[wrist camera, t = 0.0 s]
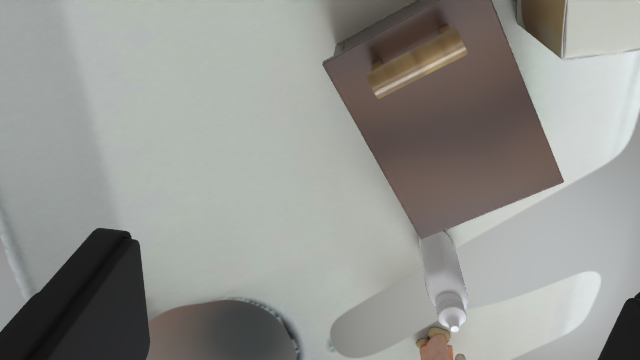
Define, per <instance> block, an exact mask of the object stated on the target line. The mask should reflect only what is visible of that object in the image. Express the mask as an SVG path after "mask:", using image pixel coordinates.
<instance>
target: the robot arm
mask: <svg viewBox="0 0 640 360" xmlns="http://www.w3.org/2000/svg"><path fill="white" fill-rule="evenodd" d="M149 346H150V337H149V327H148V318H147V308H146V299H145V290H144V280H143V271H142V262H141V252H140V245H139V242H138V241H137V240H134V239H132V238H131V235H130V233H129V232H127V231H122V230H113V229H104V228H97V229H96V230H94V231H93V232H92V233H91V234H90V236H89V237H88V238H87V239H86V240H85V241H84V242H83V243H82V245H81V246H80V247H79V248H78V249H77V250H76V251H75V253H74V254H73V255H72V256H71V257H70V258H69V259H68V260H67V262H66V263H65V264H64V265H63V266H62V267H61V268H60V270H59V271H58V272H57V273H56V274H55V275H54V276H53V277H52V279H51V280H50V281H49V282H48V283H47V284H46V285H45V286H44V288H43V289H42V290H41V291H40V292H38V293H36V294H35V295H34V296H33V297H32V298H30V299H29V301H28V302H27V303H26V304H25V305H24V306H23V307H22V308H21V309H20V311H19V312H18V313H17V314H16V315H15V316H14V317H13V318H12V320H11V321H10V322H9V323H8V324H7V325H6V326H5V327H4V329H3V330H2V331H1V332H0V360H146V358H147V355H148V351H149ZM598 360H640V292H639V293H638V294H637V295H636V296H635V297H634V298H630V299H628V300H627V301H626V302H625V304H624V306H623V308H622V310H621V312H620V315H619V316H618V318H617V321H616V323H615V325H614V327H613V329H612V331H611V333H610V335H609V337H608V339H607V342H606V344H605V346H604V348H603V350H602V352H601V354H600V356H599V358H598Z"/></svg>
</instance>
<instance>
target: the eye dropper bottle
mask: <svg viewBox="0 0 640 360" xmlns="http://www.w3.org/2000/svg"><path fill="white" fill-rule="evenodd" d="M419 247H420V254H421V260H422V266H423V272H424V278H425V284H426V289H427V293H428V296H429V298H430V300H431V302H432V303H433V305H434V306H435V307H436V309H437V314H438V319H439V322H440V323H441V324H442V325H444V326H446V327H450V329H451V331H452V332H457V331H458V330H459V326H460V325H462V324H463V323H464V322H465V320H466V312H465V310H466V309H467V304H468V298H467V292H466V288H465V284H464V280H463V277H462V273H461V269H460V265H459V262H458V258H457V254H456V251H455V247H454V245H453V243H452V241H451V239H450V238H449V237H448V235H447V234H446V233H445V232H444V231H441V232H439V233H436V234H434V235H431V236H429V237H426V238H424V239H420V237H419Z"/></svg>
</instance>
